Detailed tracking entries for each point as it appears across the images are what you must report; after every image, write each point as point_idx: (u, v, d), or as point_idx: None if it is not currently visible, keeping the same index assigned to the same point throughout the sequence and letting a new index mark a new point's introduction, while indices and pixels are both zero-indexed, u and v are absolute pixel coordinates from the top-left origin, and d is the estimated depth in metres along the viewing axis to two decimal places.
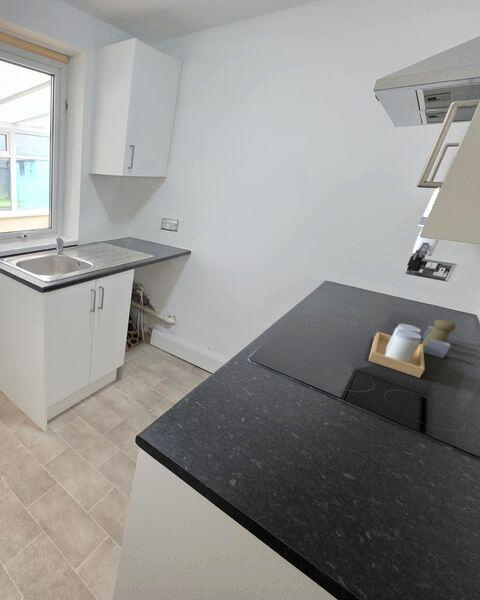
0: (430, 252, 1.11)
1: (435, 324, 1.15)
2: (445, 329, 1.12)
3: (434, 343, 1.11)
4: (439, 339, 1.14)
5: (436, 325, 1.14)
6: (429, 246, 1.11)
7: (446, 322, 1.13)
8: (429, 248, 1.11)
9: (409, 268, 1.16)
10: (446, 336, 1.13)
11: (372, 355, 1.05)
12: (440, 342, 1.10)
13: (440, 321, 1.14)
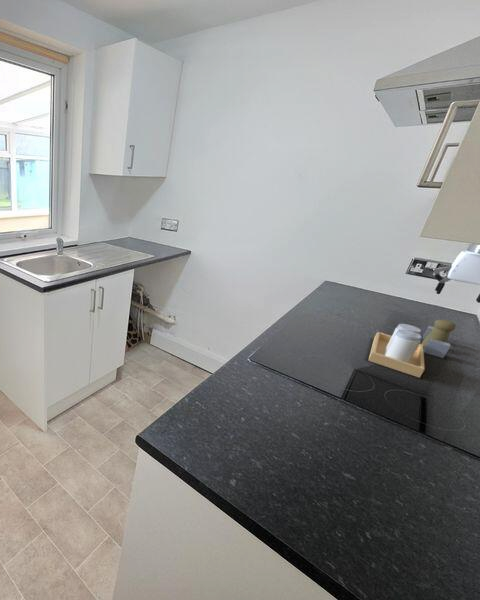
0: None
1: (435, 324, 1.15)
2: (445, 329, 1.12)
3: (434, 343, 1.11)
4: (439, 339, 1.14)
5: (436, 325, 1.14)
6: None
7: (446, 322, 1.13)
8: None
9: None
10: (446, 336, 1.13)
11: (372, 355, 1.05)
12: (440, 342, 1.10)
13: (440, 321, 1.14)
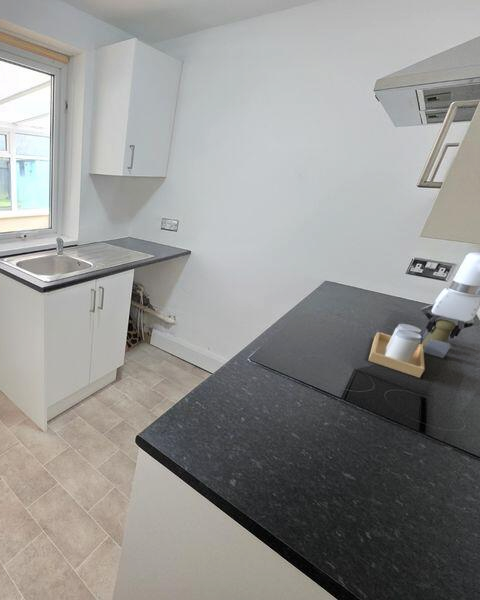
0: None
1: (435, 324, 1.15)
2: (445, 329, 1.12)
3: (434, 343, 1.11)
4: (439, 339, 1.14)
5: (436, 325, 1.14)
6: None
7: (446, 322, 1.13)
8: None
9: None
10: (446, 336, 1.13)
11: (372, 355, 1.05)
12: (440, 342, 1.10)
13: (440, 321, 1.14)
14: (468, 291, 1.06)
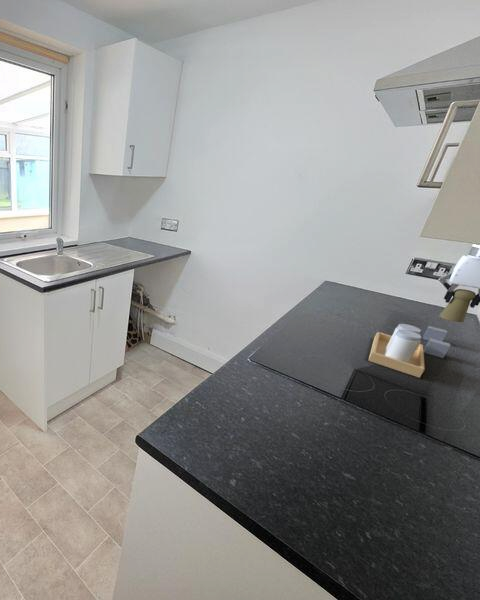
0: None
1: (454, 294, 1.10)
2: (465, 298, 1.07)
3: (434, 343, 1.11)
4: (459, 309, 1.09)
5: (455, 295, 1.09)
6: None
7: (466, 291, 1.07)
8: None
9: (474, 305, 1.07)
10: (466, 306, 1.08)
11: (372, 355, 1.05)
12: (440, 342, 1.10)
13: (459, 290, 1.09)
14: None
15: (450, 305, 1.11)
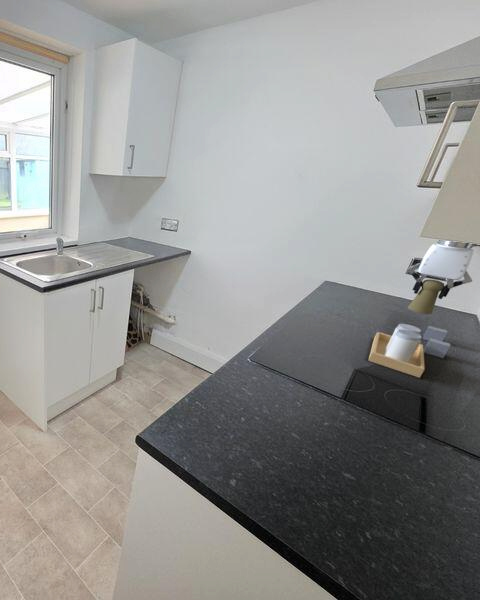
0: None
1: (422, 284, 1.05)
2: (433, 289, 1.03)
3: (434, 343, 1.11)
4: (427, 300, 1.05)
5: (423, 285, 1.05)
6: None
7: (434, 281, 1.03)
8: None
9: (442, 297, 1.03)
10: (434, 297, 1.04)
11: (372, 355, 1.05)
12: (440, 342, 1.10)
13: (428, 281, 1.04)
14: (457, 244, 0.96)
15: (418, 296, 1.07)
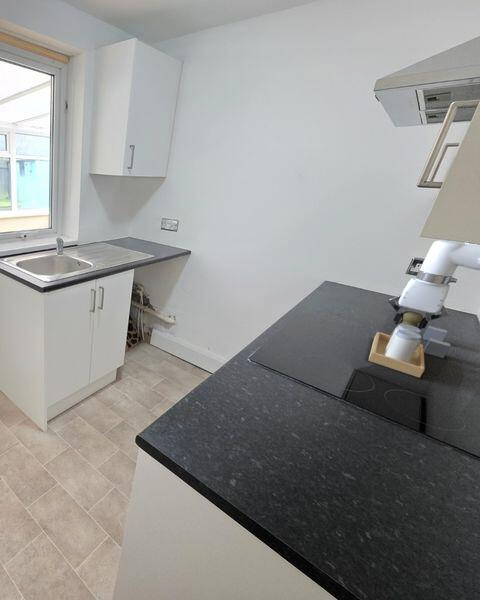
0: None
1: (402, 316, 1.10)
2: (412, 321, 1.07)
3: (434, 343, 1.11)
4: None
5: (403, 317, 1.09)
6: None
7: (413, 314, 1.07)
8: None
9: (421, 328, 1.07)
10: None
11: (372, 355, 1.05)
12: (440, 342, 1.10)
13: (407, 313, 1.09)
14: (434, 281, 1.00)
15: None
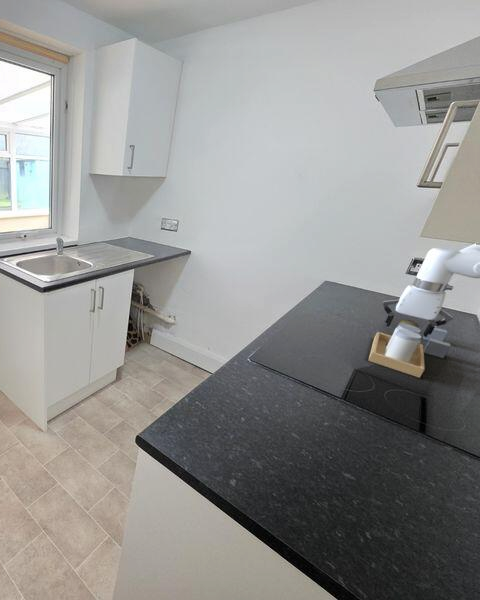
0: None
1: None
2: None
3: (434, 343, 1.11)
4: None
5: None
6: None
7: (409, 322, 1.09)
8: None
9: (427, 334, 1.06)
10: None
11: (372, 355, 1.05)
12: (440, 342, 1.10)
13: (403, 321, 1.10)
14: (430, 288, 1.01)
15: None
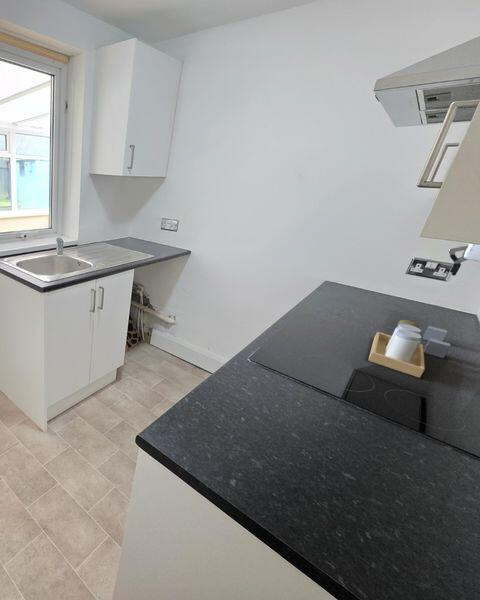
0: None
1: None
2: None
3: (434, 343, 1.11)
4: None
5: None
6: None
7: (409, 322, 1.09)
8: None
9: None
10: None
11: (372, 355, 1.05)
12: (440, 342, 1.10)
13: (403, 321, 1.10)
14: None
15: None
